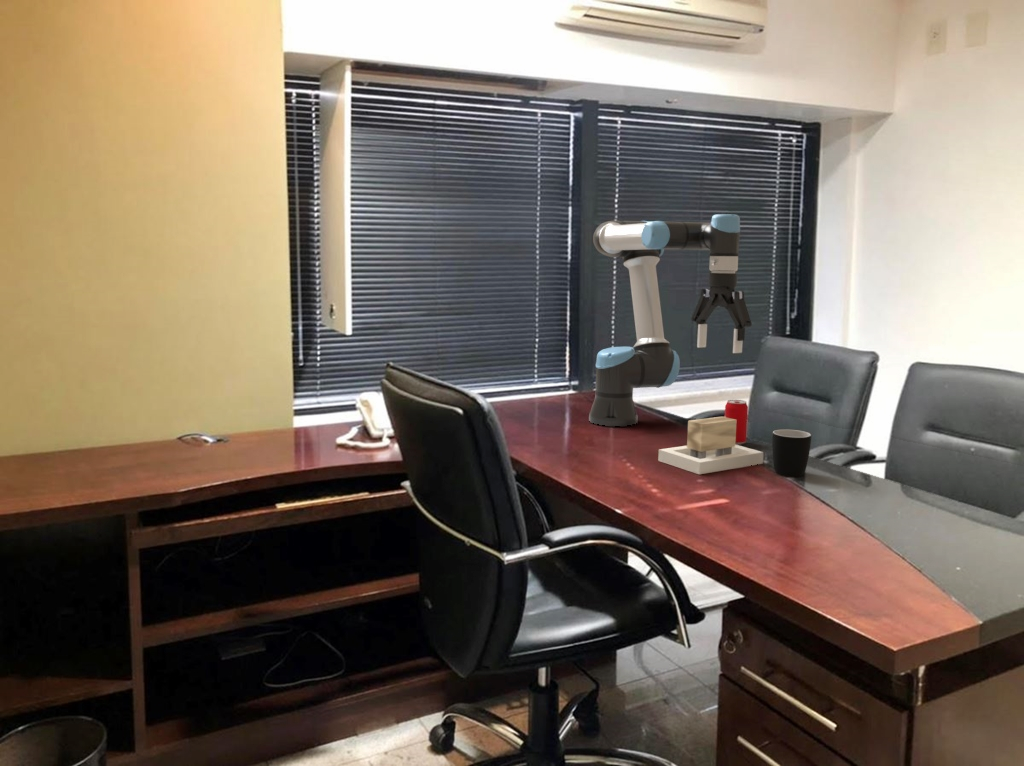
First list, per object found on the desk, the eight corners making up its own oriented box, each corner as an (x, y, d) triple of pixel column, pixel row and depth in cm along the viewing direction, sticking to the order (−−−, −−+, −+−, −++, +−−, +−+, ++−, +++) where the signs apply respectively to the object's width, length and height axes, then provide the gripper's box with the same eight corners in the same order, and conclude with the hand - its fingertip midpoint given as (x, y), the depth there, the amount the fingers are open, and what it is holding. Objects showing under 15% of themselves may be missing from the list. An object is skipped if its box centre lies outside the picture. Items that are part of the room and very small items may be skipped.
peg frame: (658, 460, 220) (658, 445, 219) (720, 451, 231) (721, 436, 230) (699, 474, 207) (699, 458, 206) (762, 463, 218) (763, 448, 218)
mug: (815, 477, 206) (818, 436, 204) (780, 478, 204) (783, 437, 203) (791, 465, 217) (794, 426, 216) (758, 466, 216) (760, 427, 214)
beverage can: (744, 440, 244) (746, 399, 242) (747, 445, 238) (750, 403, 236) (721, 440, 245) (724, 398, 243) (725, 445, 239) (727, 402, 237)
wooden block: (686, 447, 218) (688, 420, 216) (720, 442, 224) (722, 416, 223) (700, 451, 213) (702, 424, 212) (735, 446, 220) (736, 419, 218)
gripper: (681, 270, 240) (677, 345, 243) (747, 273, 219) (743, 356, 222) (700, 270, 243) (697, 344, 247) (768, 273, 222) (763, 354, 226)
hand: (719, 350), depth 234 cm, fingers open, 13 cm apart
